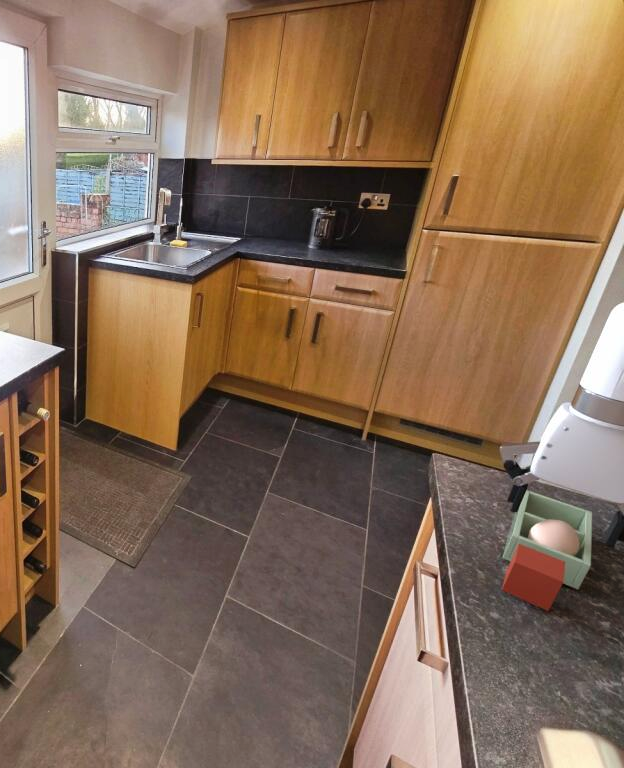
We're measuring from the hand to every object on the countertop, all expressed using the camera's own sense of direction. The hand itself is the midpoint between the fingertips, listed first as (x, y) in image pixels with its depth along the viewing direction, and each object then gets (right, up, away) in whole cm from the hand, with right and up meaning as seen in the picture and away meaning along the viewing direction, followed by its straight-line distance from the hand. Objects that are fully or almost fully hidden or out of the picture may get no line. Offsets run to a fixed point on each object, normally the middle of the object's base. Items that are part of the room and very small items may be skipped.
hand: (559, 523), depth 65 cm
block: (-7, -7, -3) cm, 11 cm away
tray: (+2, -4, +5) cm, 7 cm away
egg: (0, -5, +2) cm, 6 cm away
